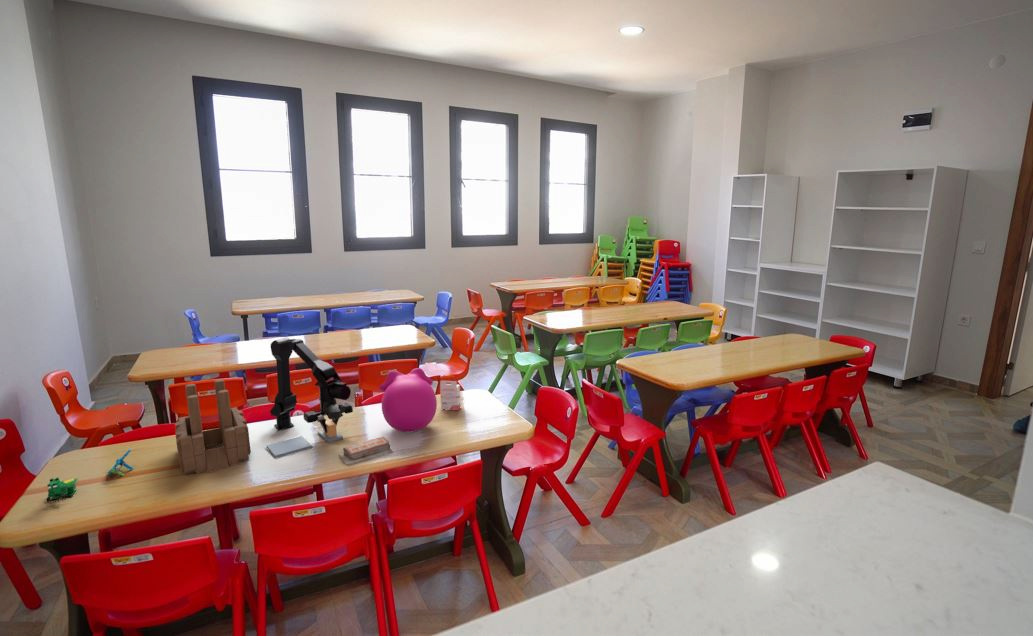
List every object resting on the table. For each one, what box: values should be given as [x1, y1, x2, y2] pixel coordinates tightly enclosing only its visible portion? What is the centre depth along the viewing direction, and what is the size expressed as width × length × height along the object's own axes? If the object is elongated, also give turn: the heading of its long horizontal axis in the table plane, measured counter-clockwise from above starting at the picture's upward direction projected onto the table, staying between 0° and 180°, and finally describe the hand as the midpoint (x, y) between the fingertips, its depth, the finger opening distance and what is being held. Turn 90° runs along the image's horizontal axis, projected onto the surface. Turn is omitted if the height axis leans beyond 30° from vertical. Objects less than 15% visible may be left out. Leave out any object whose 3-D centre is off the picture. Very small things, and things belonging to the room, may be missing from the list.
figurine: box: [378, 367, 438, 433], centre depth 221 cm, size 23×24×25 cm
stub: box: [317, 418, 344, 443], centre depth 216 cm, size 12×6×6 cm, turn 40°
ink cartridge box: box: [439, 380, 462, 411], centre depth 245 cm, size 9×5×15 cm, turn 80°
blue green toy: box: [106, 448, 134, 477], centre depth 188 cm, size 11×6×10 cm
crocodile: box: [46, 476, 78, 503], centre depth 173 cm, size 20×6×9 cm, turn 27°
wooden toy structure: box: [174, 378, 252, 475], centre depth 198 cm, size 23×30×27 cm
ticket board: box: [265, 435, 313, 459], centre depth 206 cm, size 12×14×1 cm
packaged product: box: [338, 436, 394, 466], centre depth 200 cm, size 18×5×10 cm
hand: (330, 431), depth 217 cm, fingers closed on stub, 3 cm apart
